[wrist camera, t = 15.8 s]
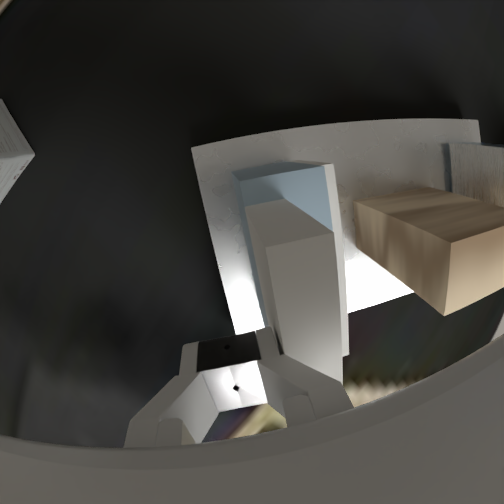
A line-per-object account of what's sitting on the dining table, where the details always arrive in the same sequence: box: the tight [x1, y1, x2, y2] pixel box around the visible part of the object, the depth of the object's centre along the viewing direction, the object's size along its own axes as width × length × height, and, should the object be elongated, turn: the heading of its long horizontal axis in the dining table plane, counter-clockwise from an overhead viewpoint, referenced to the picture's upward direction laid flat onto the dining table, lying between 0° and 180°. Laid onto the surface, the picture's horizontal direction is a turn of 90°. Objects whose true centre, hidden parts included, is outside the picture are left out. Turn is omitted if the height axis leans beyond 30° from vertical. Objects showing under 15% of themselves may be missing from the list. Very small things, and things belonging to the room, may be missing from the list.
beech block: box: [353, 187, 504, 316], centre depth 15 cm, size 4×7×10 cm, turn 102°
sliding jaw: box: [231, 160, 349, 385], centre depth 14 cm, size 10×4×12 cm, turn 11°
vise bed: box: [191, 119, 504, 335], centre depth 18 cm, size 14×24×9 cm, turn 101°
